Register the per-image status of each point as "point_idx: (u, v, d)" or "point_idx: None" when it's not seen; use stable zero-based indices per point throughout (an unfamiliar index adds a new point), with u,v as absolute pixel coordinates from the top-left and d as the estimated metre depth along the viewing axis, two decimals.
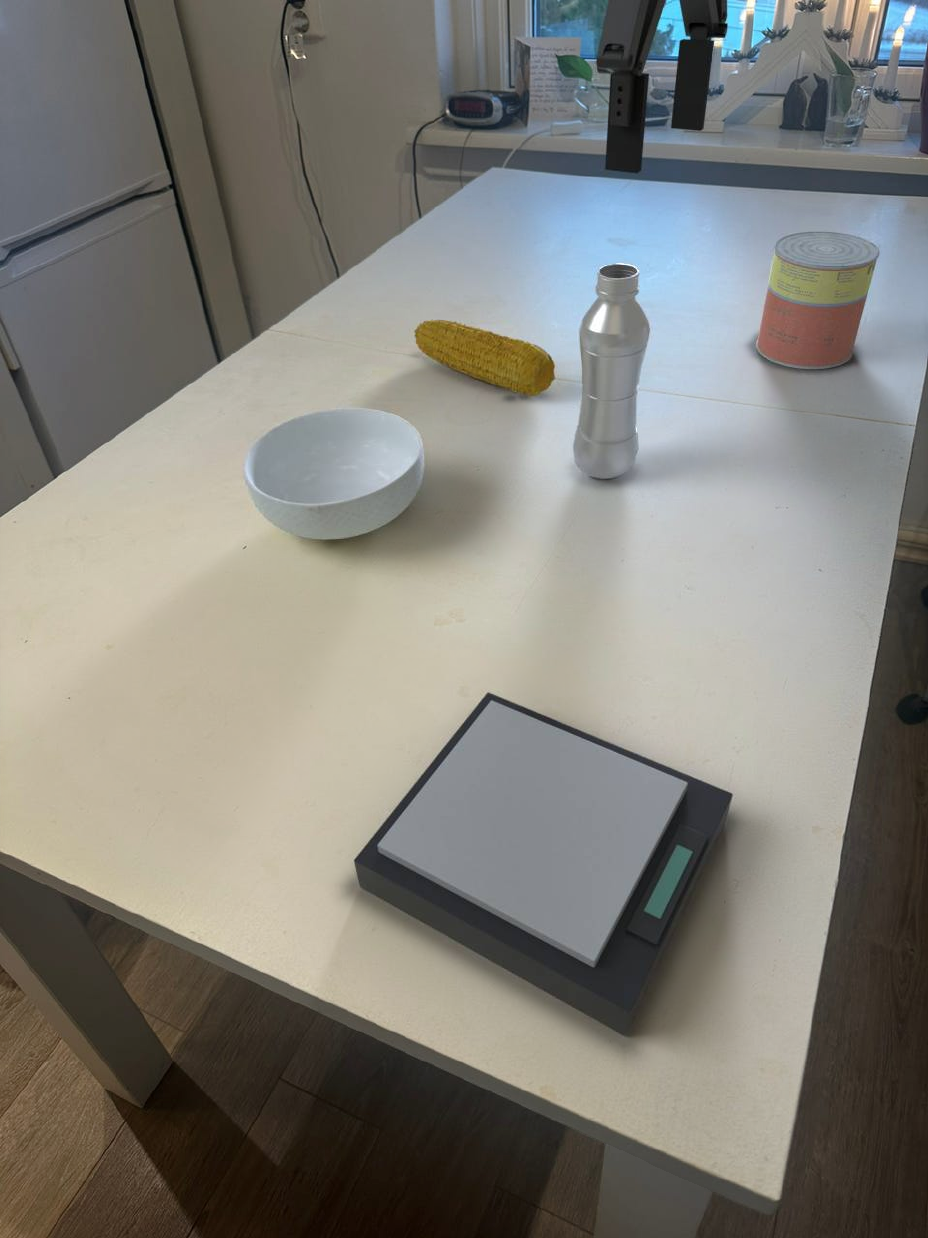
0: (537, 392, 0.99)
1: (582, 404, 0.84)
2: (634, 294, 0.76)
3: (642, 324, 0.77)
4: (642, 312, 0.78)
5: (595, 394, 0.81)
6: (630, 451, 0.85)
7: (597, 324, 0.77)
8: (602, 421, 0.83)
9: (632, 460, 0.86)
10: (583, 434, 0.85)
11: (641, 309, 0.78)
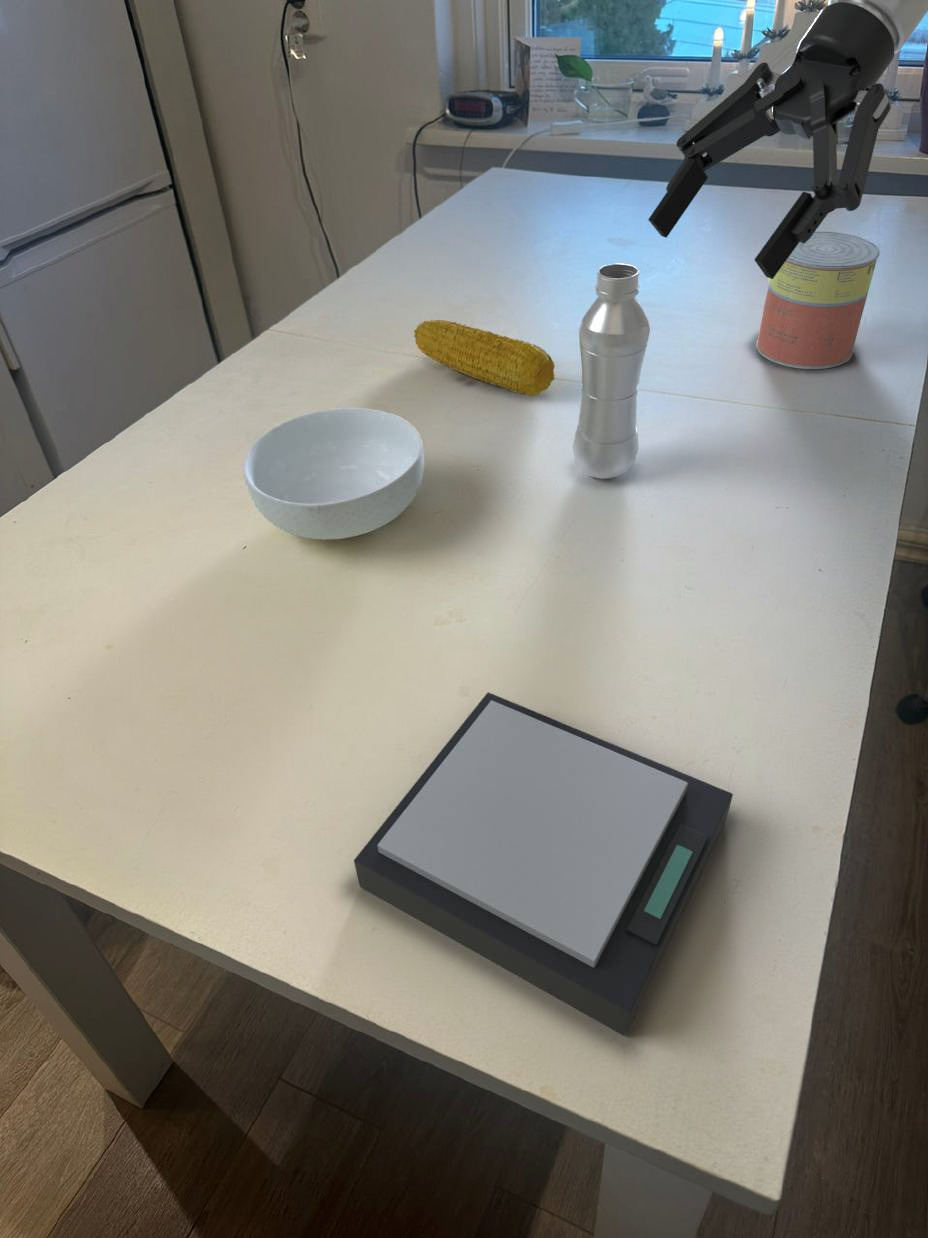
0: (537, 392, 0.99)
1: (582, 404, 0.84)
2: (634, 294, 0.76)
3: (642, 324, 0.77)
4: (642, 312, 0.78)
5: (595, 394, 0.81)
6: (630, 451, 0.85)
7: (597, 324, 0.77)
8: (602, 421, 0.83)
9: (632, 460, 0.86)
10: (583, 434, 0.85)
11: (641, 309, 0.78)
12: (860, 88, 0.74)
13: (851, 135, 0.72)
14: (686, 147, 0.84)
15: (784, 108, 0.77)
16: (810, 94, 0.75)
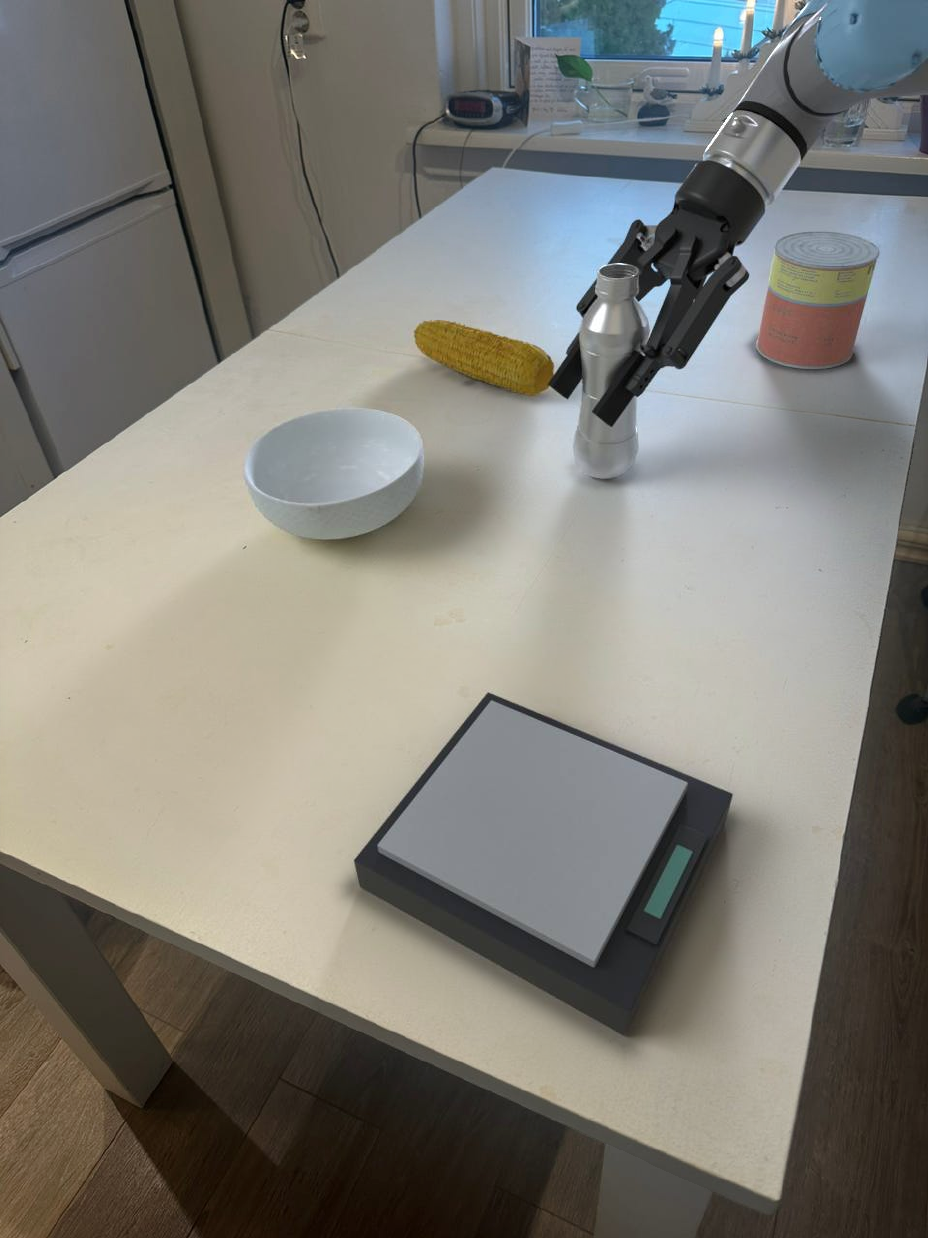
0: (536, 392, 0.99)
1: (582, 404, 0.84)
2: (634, 294, 0.76)
3: (642, 324, 0.77)
4: (642, 312, 0.78)
5: (595, 394, 0.81)
6: (630, 451, 0.85)
7: (597, 324, 0.77)
8: (602, 421, 0.83)
9: (632, 460, 0.86)
10: (583, 434, 0.85)
11: (641, 308, 0.78)
12: (731, 243, 0.76)
13: (696, 299, 0.75)
14: (587, 310, 0.83)
15: (662, 256, 0.79)
16: (681, 246, 0.77)
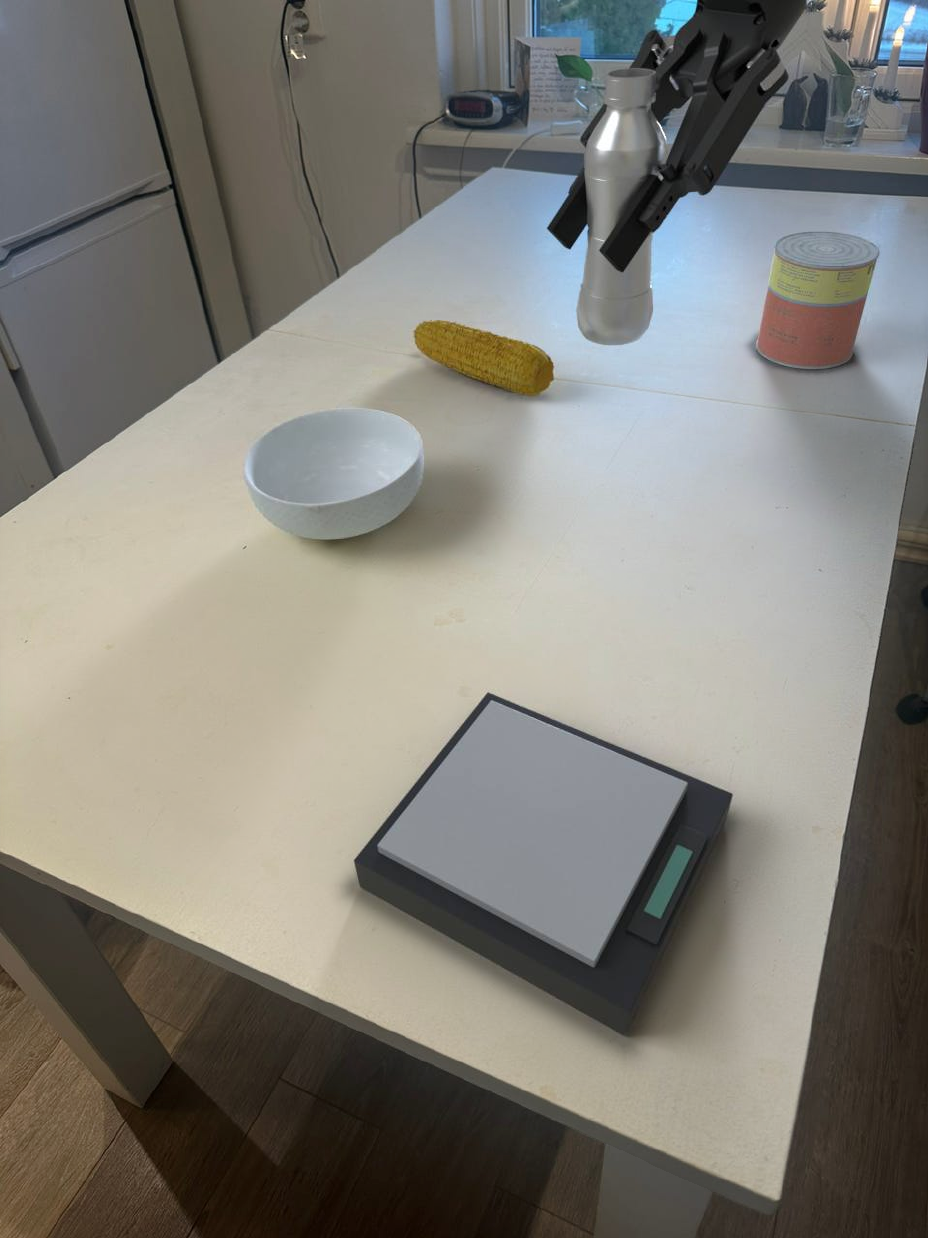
0: (536, 393, 0.99)
1: (587, 252, 0.71)
2: (650, 101, 0.63)
3: (659, 141, 0.65)
4: (659, 127, 0.65)
5: (603, 235, 0.69)
6: (644, 310, 0.72)
7: (606, 141, 0.64)
8: (611, 269, 0.70)
9: (646, 323, 0.73)
10: (588, 289, 0.72)
11: (658, 123, 0.65)
12: (766, 40, 0.63)
13: (724, 105, 0.63)
14: None
15: (682, 65, 0.66)
16: (706, 46, 0.64)
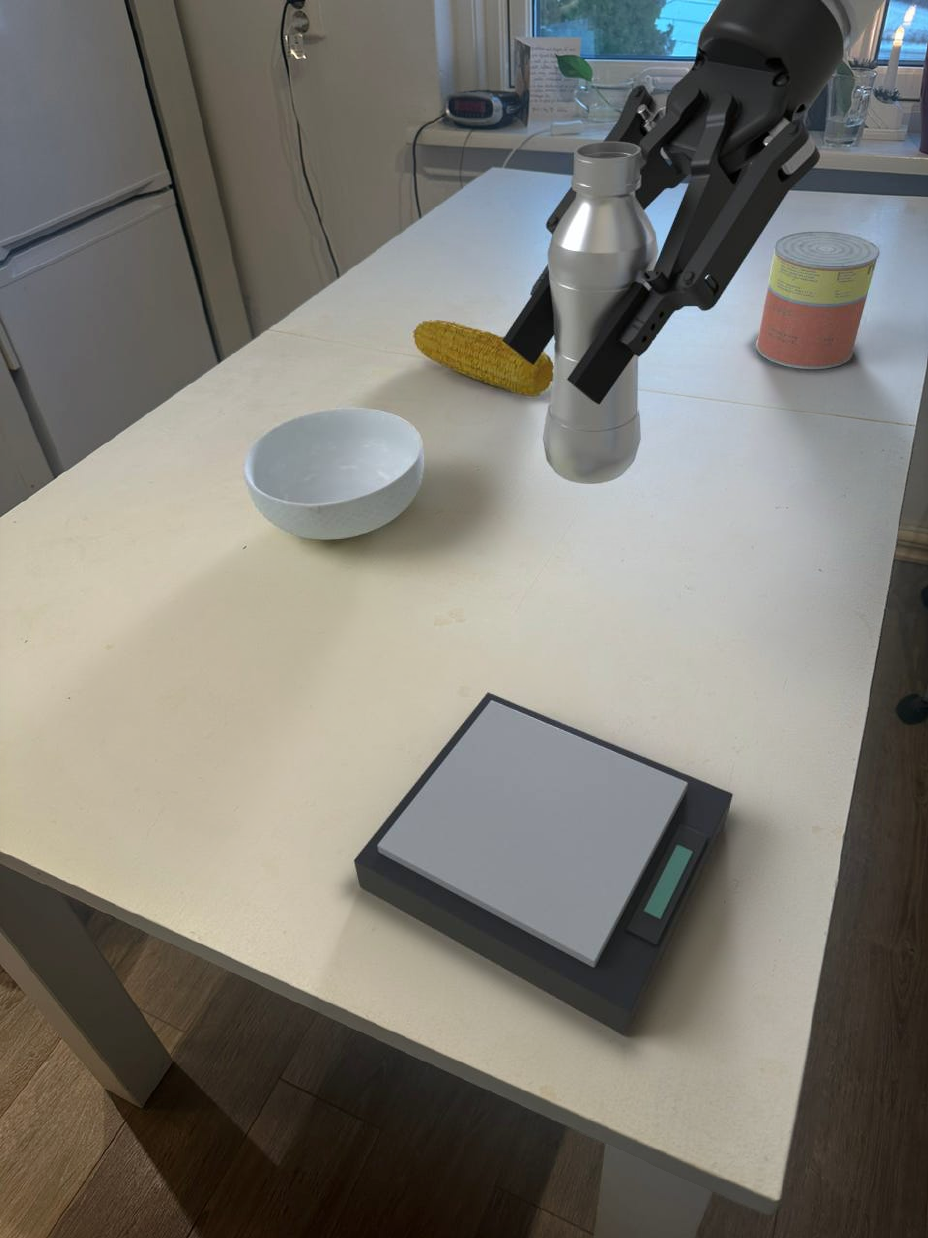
0: (536, 393, 0.99)
1: (555, 371, 0.55)
2: (633, 187, 0.47)
3: (646, 238, 0.48)
4: (646, 220, 0.49)
5: (574, 354, 0.53)
6: (628, 443, 0.56)
7: (575, 239, 0.48)
8: (585, 396, 0.54)
9: (631, 456, 0.57)
10: (557, 417, 0.56)
11: (645, 215, 0.49)
12: (790, 105, 0.47)
13: (733, 195, 0.46)
14: None
15: (677, 136, 0.50)
16: (709, 113, 0.48)
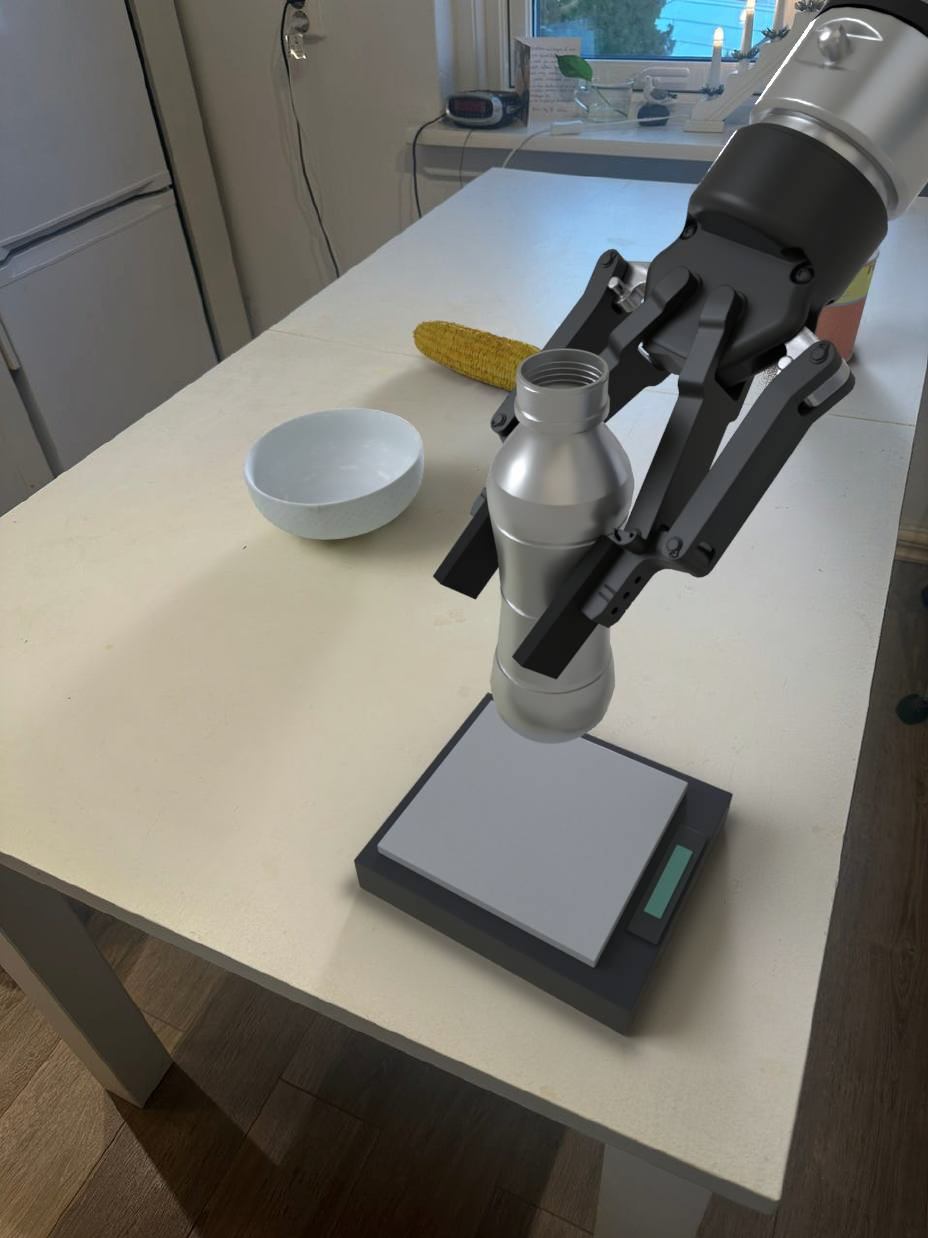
0: None
1: (502, 615, 0.42)
2: (598, 420, 0.34)
3: (617, 480, 0.36)
4: (617, 453, 0.36)
5: (524, 607, 0.40)
6: (598, 701, 0.43)
7: (520, 482, 0.35)
8: None
9: (603, 712, 0.45)
10: (505, 669, 0.43)
11: (616, 445, 0.36)
12: (814, 307, 0.34)
13: (736, 436, 0.34)
14: (512, 429, 0.42)
15: (660, 331, 0.37)
16: (703, 312, 0.35)
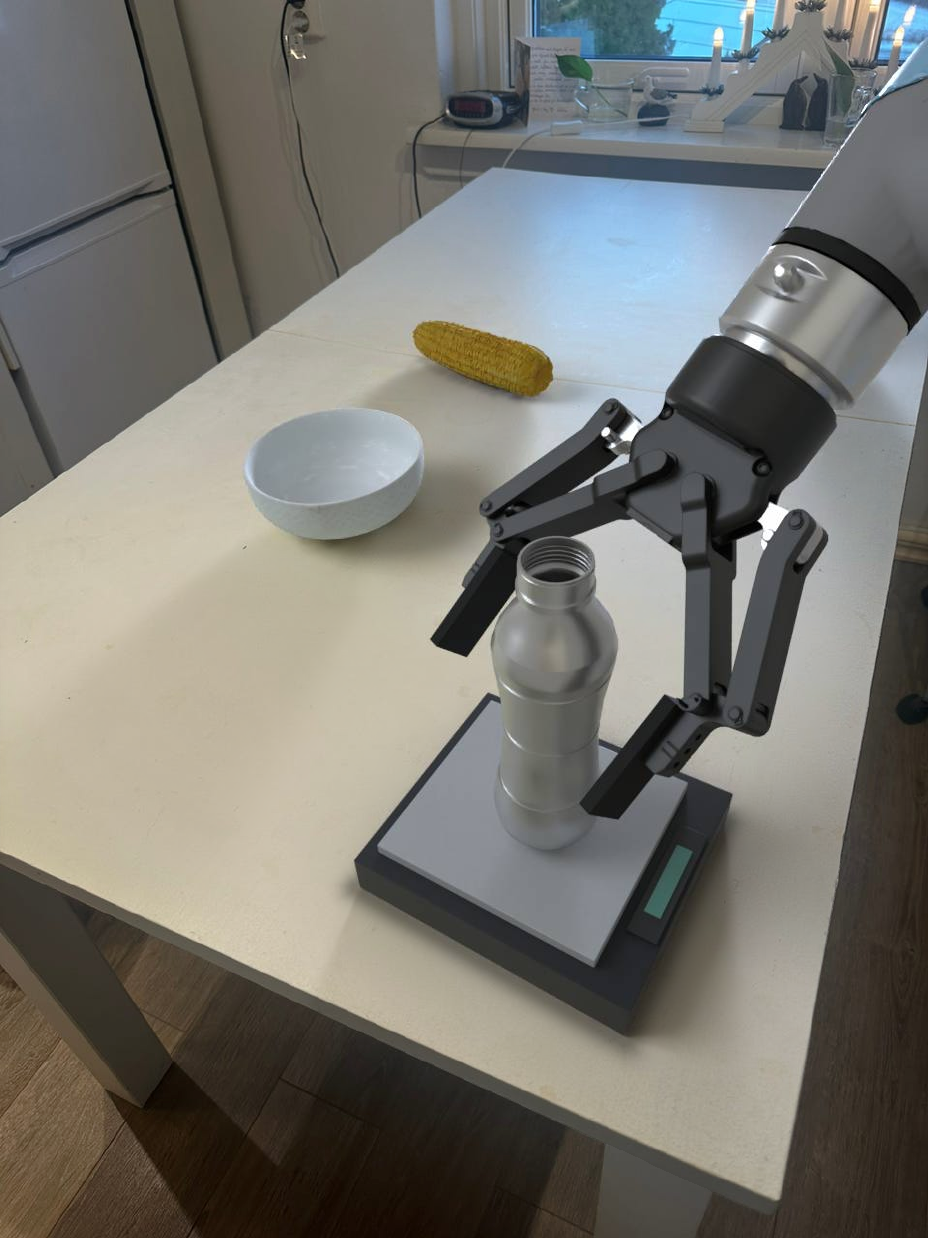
0: (535, 393, 0.99)
1: (504, 744, 0.48)
2: (586, 603, 0.40)
3: (603, 648, 0.42)
4: (603, 624, 0.42)
5: (523, 743, 0.46)
6: (588, 815, 0.49)
7: (519, 650, 0.41)
8: (537, 782, 0.47)
9: (593, 823, 0.51)
10: (507, 788, 0.49)
11: (602, 616, 0.42)
12: (773, 493, 0.40)
13: (751, 605, 0.38)
14: (494, 517, 0.49)
15: (642, 501, 0.43)
16: (682, 498, 0.40)
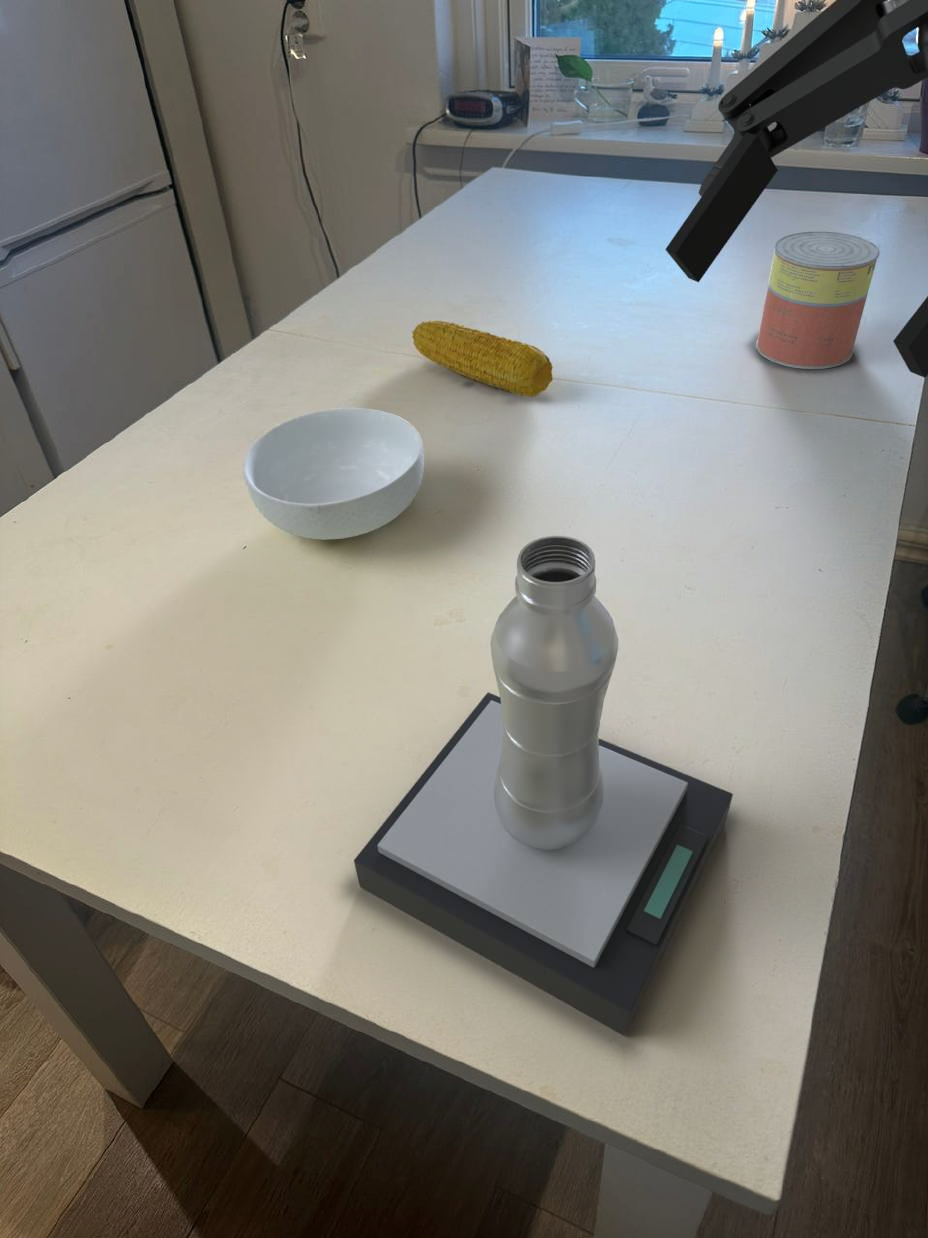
0: (535, 393, 0.99)
1: (504, 743, 0.48)
2: (586, 603, 0.40)
3: (603, 648, 0.42)
4: (603, 623, 0.42)
5: (523, 743, 0.46)
6: (588, 815, 0.49)
7: (519, 649, 0.41)
8: (537, 782, 0.47)
9: (593, 823, 0.51)
10: (507, 788, 0.49)
11: (602, 616, 0.42)
12: None
13: None
14: (737, 113, 0.44)
15: None
16: None
